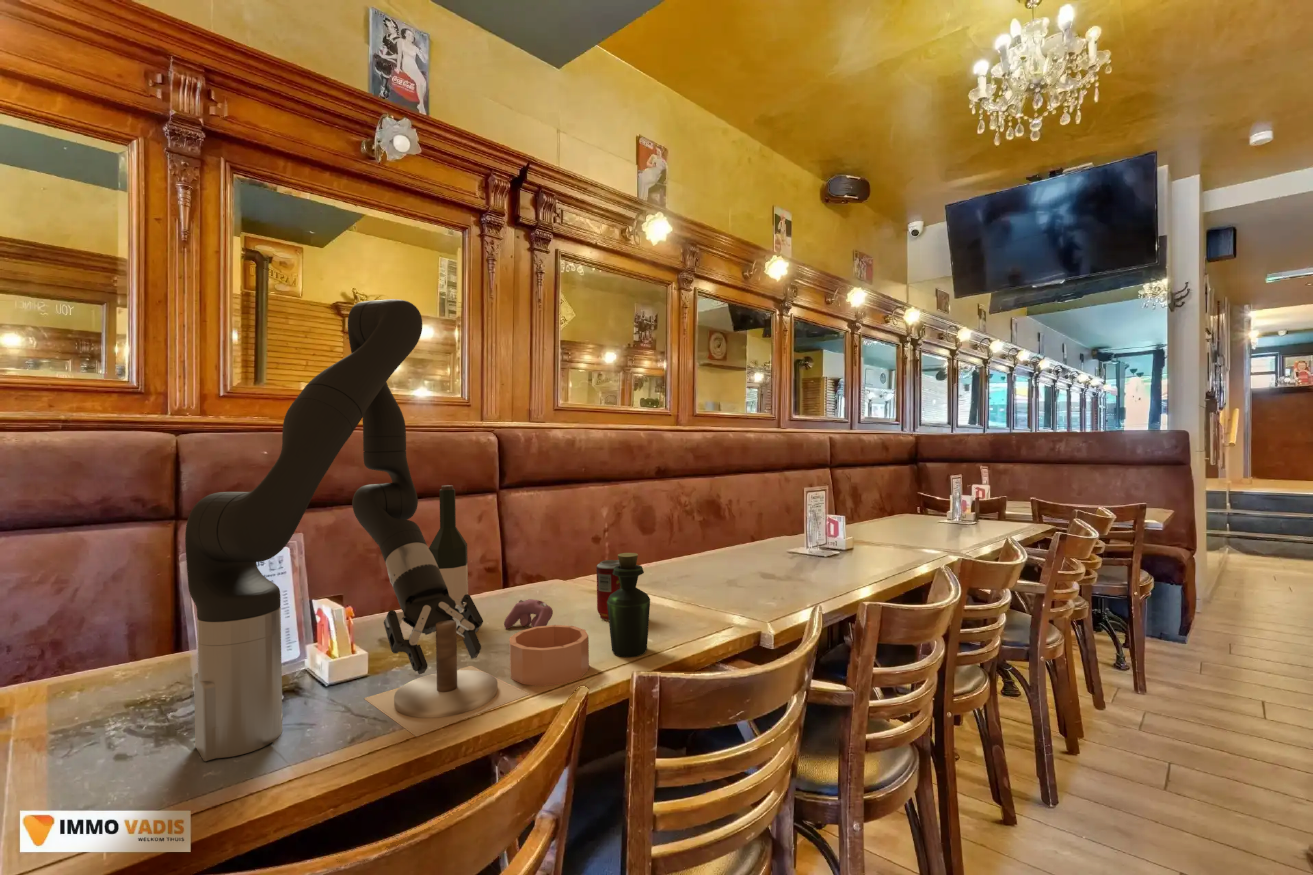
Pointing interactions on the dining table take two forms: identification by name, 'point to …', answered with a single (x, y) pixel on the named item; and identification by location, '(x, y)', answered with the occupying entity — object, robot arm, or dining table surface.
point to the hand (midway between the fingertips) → (450, 662)
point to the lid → (445, 683)
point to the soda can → (606, 585)
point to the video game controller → (529, 613)
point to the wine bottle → (450, 548)
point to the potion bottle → (628, 610)
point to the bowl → (549, 655)
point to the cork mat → (426, 725)
